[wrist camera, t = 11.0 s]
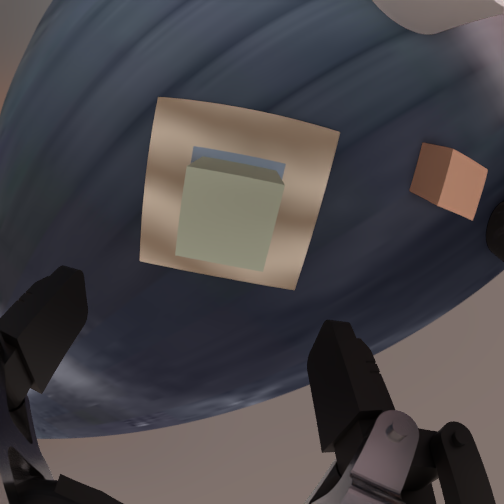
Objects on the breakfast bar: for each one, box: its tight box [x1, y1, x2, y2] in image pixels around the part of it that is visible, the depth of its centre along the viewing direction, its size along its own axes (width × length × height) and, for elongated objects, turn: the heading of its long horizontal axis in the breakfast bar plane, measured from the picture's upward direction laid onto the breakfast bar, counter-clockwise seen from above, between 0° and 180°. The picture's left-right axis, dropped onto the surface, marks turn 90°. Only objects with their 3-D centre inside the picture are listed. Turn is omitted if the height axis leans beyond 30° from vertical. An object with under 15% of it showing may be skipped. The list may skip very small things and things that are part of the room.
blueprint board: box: [140, 97, 340, 290], centre depth 24 cm, size 15×15×1 cm
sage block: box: [175, 156, 285, 272], centre depth 21 cm, size 6×6×6 cm
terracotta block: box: [409, 143, 488, 221], centre depth 21 cm, size 5×5×5 cm
